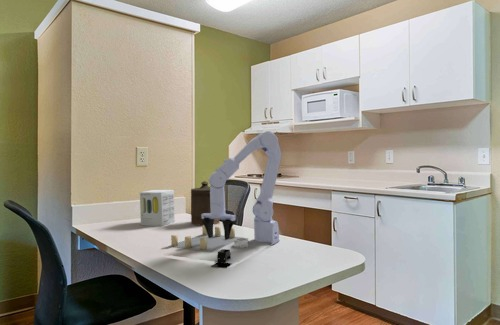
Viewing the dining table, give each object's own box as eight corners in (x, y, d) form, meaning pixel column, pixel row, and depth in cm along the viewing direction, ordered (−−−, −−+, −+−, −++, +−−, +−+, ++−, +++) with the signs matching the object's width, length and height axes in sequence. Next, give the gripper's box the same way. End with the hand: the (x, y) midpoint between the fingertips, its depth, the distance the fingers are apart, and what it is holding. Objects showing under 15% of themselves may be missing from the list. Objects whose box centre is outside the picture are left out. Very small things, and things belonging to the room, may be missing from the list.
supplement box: (139, 225, 182) (138, 192, 182) (153, 220, 195) (153, 189, 195) (162, 226, 179) (161, 192, 178) (175, 221, 191) (174, 189, 191)
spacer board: (243, 239, 145) (243, 227, 145) (210, 255, 124) (210, 240, 124) (204, 235, 154) (204, 224, 154) (167, 249, 133) (166, 236, 133)
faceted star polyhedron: (251, 248, 132) (251, 238, 132) (244, 251, 128) (243, 241, 128) (239, 246, 135) (238, 237, 135) (231, 249, 131) (231, 240, 131)
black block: (222, 258, 121) (221, 245, 121) (242, 260, 118) (241, 246, 118) (205, 270, 109) (205, 255, 109) (227, 272, 107) (226, 257, 107)
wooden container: (225, 222, 185) (224, 180, 185) (202, 226, 175) (201, 182, 174) (208, 219, 196) (207, 180, 195) (185, 223, 186) (184, 181, 185)
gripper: (196, 203, 136) (197, 238, 136) (228, 205, 129) (229, 242, 129) (206, 201, 142) (207, 234, 142) (237, 202, 135) (238, 237, 136)
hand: (218, 238), depth 136 cm, fingers open, 7 cm apart
